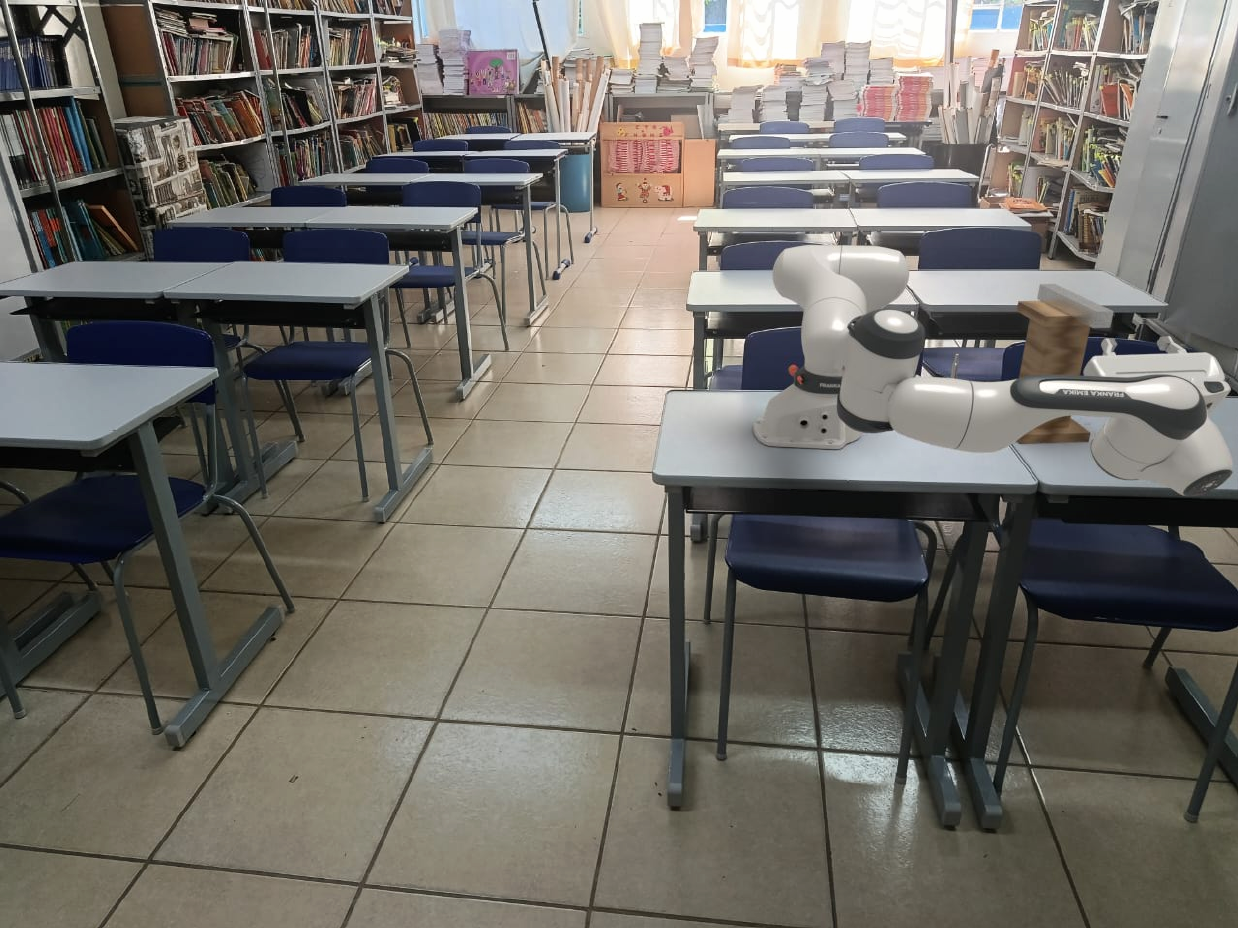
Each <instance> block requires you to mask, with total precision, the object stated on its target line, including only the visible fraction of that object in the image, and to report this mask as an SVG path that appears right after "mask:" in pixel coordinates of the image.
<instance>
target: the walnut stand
mask: <svg viewBox="0 0 1238 928" xmlns="http://www.w3.org/2000/svg"><path fill="white" fill-rule="evenodd" d="M1016 312H1018V313H1020V314H1021V315H1023V316H1024V317H1027V318H1028V319H1029V322H1028V327H1027V328H1028V329H1027V333H1026V339H1025V344H1024V348H1023V354H1022V358H1021V359H1022V361H1021V364H1020V371H1019V376H1018V379H1019V378H1022V377H1026V376H1030V375H1044V374H1049V375H1079V376H1081V371H1082V367H1083V361H1084V358H1085V353H1086V349H1087V348H1086V347H1087V343H1088V339H1089V336H1090V335H1089V334H1090V330H1091V327H1090V326H1088V325H1086V324H1084V323H1083V322H1081V321H1079V320H1077V319H1075V318H1073V317H1071V316H1069V315H1067V314H1065V313H1063V312H1061V311H1060V310H1058V309H1056V308H1054V307H1052V306H1050V305H1048V304H1046V303H1044V302H1042V301H1040V300H1018V302H1017V307H1016ZM1090 437H1091V431H1089V430H1088V429H1087V428H1085V427H1084V426H1082V425H1081V424H1080V423H1078V421H1075V419H1073V418H1072V415H1071V416H1063V417H1058V418H1055V419H1052V420H1050V421H1047V422H1045V423H1043V424H1041V425H1040V426H1038V427H1036V428H1034V429H1033V430H1031V431H1029V432H1028V433H1026V434H1025V435H1024V436H1022V437H1021V438H1019V439H1018V440H1017V441H1016V443H1018V444H1020V445H1021V444H1022V445H1024V444H1027V445H1028V444H1056V443H1057V444H1061V443H1063V444H1065V443H1089V442H1090Z"/></svg>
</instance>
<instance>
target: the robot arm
mask: <svg viewBox="0 0 1238 928" xmlns="http://www.w3.org/2000/svg"><path fill="white" fill-rule="evenodd" d="M909 278H910V266H909V264H908V261H907V258H906V257H905V255H904V254H903V253H902V252H901V250H897V249H893V248H888V247H884V246H879V245H850V244H849V245H845V244H843V245H839V244H837V245H836V244H833V245H832V244H806V245H799V246H798V245H797V246H794V247H789V248H787V247H786V248H784V249H783V250H782V252H780V254H779V255H778V256H777V258H776V259H775V262H774V265H773V267H772V282H773V285H774V287H775V290H776V291H777V293H778V294H779V295H780V296H781V297H782V298H784V299H788V300H790V301H792V302H793V303H795V304H797V305H798V306H800V308H802V309H803V315H802V321H801V327H800V328H801V332H800V337H801V346H802V352H803V356H804V365H802V367H800V368H799V367H798V366H797V365H795V364H792V365H790V366H789V367H788V373H789V374H790V375H791V377H793V383H792V384H791V385H790V386H788V387H787V388H785V389H784V390H782V391H781V392H779V393H777V394H776V395H774V396H773V397H771V398H770V399H769V400H768V401H767V405H766V406H765V411H764V416H762V417H761V416H760V417H757V418H756V419H755V420H754V422H753V424H752V425H753V426H752V431H753V435H754V436H755V438H756V439H757V440H758V441H759V442H760V443H762V444H764V445H766V446H768V447H782V448H783V447H784V448H801V449H802V448H803V449H823V450H824V449H825V450H840V449H843V448H844V447H845V446H846V445H847V444H850V443H852V442H854V441H857V440H858V439H859V438H861V436H862V434H863V433H864V434H883V433H885V432H892V431H895V432H896V433H897V434H900V435H902V436H904V437H905V438H906V437H907V438H909V439H913V440H915V441H918V442H921V443H924V444H927V445H930V446H936V447H939V448H945V449H950V450H955V451H960V452H964V453H973V454H974V453H976V454H979V453H980V454H984V453H986V454H987V453H997V452H1000V451H1001V450H1003V449H1006V448H1008V447H1009V446H1011V445H1013V444H1014V443H1016V442H1017V440H1018V439H1019V438H1021V437H1022V436H1024V435H1025V434H1026V433H1028V432H1029V431H1031V430H1033V429H1034V428H1036V427H1038V426H1040V425H1041V424H1043V423H1045V422H1047V421H1050V420H1052V419H1055V418H1058V417H1063V416H1071V417H1072V416H1078V417H1080V416H1081V417H1094V418H1095V417H1096V418H1108V419H1107V420H1106V422H1105V423H1104V424H1103V425H1102V426H1101V428H1100V429H1099V431H1098V432H1097V433H1096V434H1095V436H1094V437H1093V438H1092V439H1091V442H1090V454H1091V457H1092V458H1093V460H1094V462H1095V463H1096V465H1097V466H1098V467H1099V469H1100V470H1102V471H1103V472H1105V474H1107V475H1108V476H1110V477H1113V478H1115V479H1117V480H1122V481H1123V480H1124V481H1140V480H1141V481H1146V482H1150V483H1155V484H1159V485H1162V486H1165V487H1167V488H1170V489H1172V490H1173V492H1174V491H1175V493H1178V494H1179V495H1182V496H1184V497H1197V496H1201V495H1204V494H1207V493H1210V492H1211V491H1214V490H1215V489H1217V488H1219V487H1220V486H1222V485H1223V484H1224V483H1226V481H1227V480H1228V479H1229V478H1230V477H1232V474H1233V472H1234V461H1233V457H1232V455H1231V452H1230V449H1229V447H1228V445H1227V443H1226V441H1225V438H1224V436H1223V435H1222V432H1221V431H1220V430H1219V427H1218V426H1217V425H1216V424H1215V423H1214V422H1213V421H1212V420H1211V419H1210V417H1209V415H1210V414H1211V413H1212V412H1213V411H1214V410H1215V409H1217V407H1219V406H1220V405H1221V404H1222V402H1223V401H1224V400H1225V398H1226V397H1227V396H1228V395H1229V393H1230V392H1231V390H1232V389H1231V385H1230V384H1229V383H1228V382H1226V381H1225V380H1226V379H1225V378H1226V375H1225V373H1224V371H1223V369H1222V367H1221V365H1220V363H1219V361H1218V360H1217V358H1216V356H1214V355H1212V354H1211V353H1208V352H1206V351H1205V352H1187V350H1186V349H1185V348H1183V347H1182V346H1180V345H1179V344H1177V343H1176V342H1174V340H1173V338H1172V337H1171V336H1169V335H1168V336H1160V337H1159V339H1158V340H1157V341H1156V345H1157V346H1158V349H1159V351H1165V352H1166V353H1147V354H1145V353H1144V354H1118V355H1117V354H1116V352H1115V351H1114V350H1115V349H1116V347H1117V346H1118V343H1117V341H1116V338H1113V337H1110V338H1109V337H1108V338H1105V337H1104V339H1103V340H1102V341H1101V343H1100V347H1101V349H1102V355H1094V356H1092V357H1091V358H1090V360H1089V361H1088V362H1087V363H1086V365H1085V367H1084V368H1083V373H1082V374H1083V375H1080V376H1079V375H1049V374H1044V375H1030V376H1026V377H1022V378H1019V377H1018V378H1015V379H1011V380H1003V381H985V382H984V381H974V380H968V379H959V378H956V379H952V378H951V377H940V376H938V377H936V376H934V377H933V376H929V377H928V376H920V375H918V374H916V371H917V367H918V364H919V360H920V354H921V353H922V352H923V350H924V345H925V335H926V333H925V327H924V325H923V324H922V323H921V321H919V320H918V319H917V318H916V316H915V315H913V314H911V313H909V312H907V311H904V310H901V309H896V308H891V307H890V308H886V306H888V305H890V304H891V303H892V302H895V301H896V300H897V299H898V298H900V296H901V295H902V294H904V292H905V290H906V288H907V285H908V284H909Z"/></svg>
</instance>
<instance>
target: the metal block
mask: <svg viewBox="0 0 1238 928" xmlns="http://www.w3.org/2000/svg"><path fill="white" fill-rule="evenodd" d="M1036 298H1037V301H1042V302H1044V303H1046V304H1048V305H1050V306H1052V307H1054V308H1056V309H1058V310H1060V311H1061V312H1063V313H1065V314H1067V315H1069V316H1071V317H1073V318H1075V319H1077V320H1079V321H1081V322H1083V323H1084V324H1086V325H1088V326H1090V328H1092V329H1108V328H1109V329H1110V328H1111V325H1112V321H1113V315H1114V313H1115V311H1113V310H1112V309H1110V308H1107V307H1105V306H1102V305H1101V304H1100V303H1097V302H1095V301H1092V300H1090V299H1088V298H1086V297H1084V296H1082V295H1080V294H1077V293H1076V292H1074V291H1070V290H1069V289H1067V288H1065V287H1062V286H1061V285H1058V284H1056V283H1042V284H1041V283H1040V284H1039V286H1038V293H1037V297H1036Z"/></svg>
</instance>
